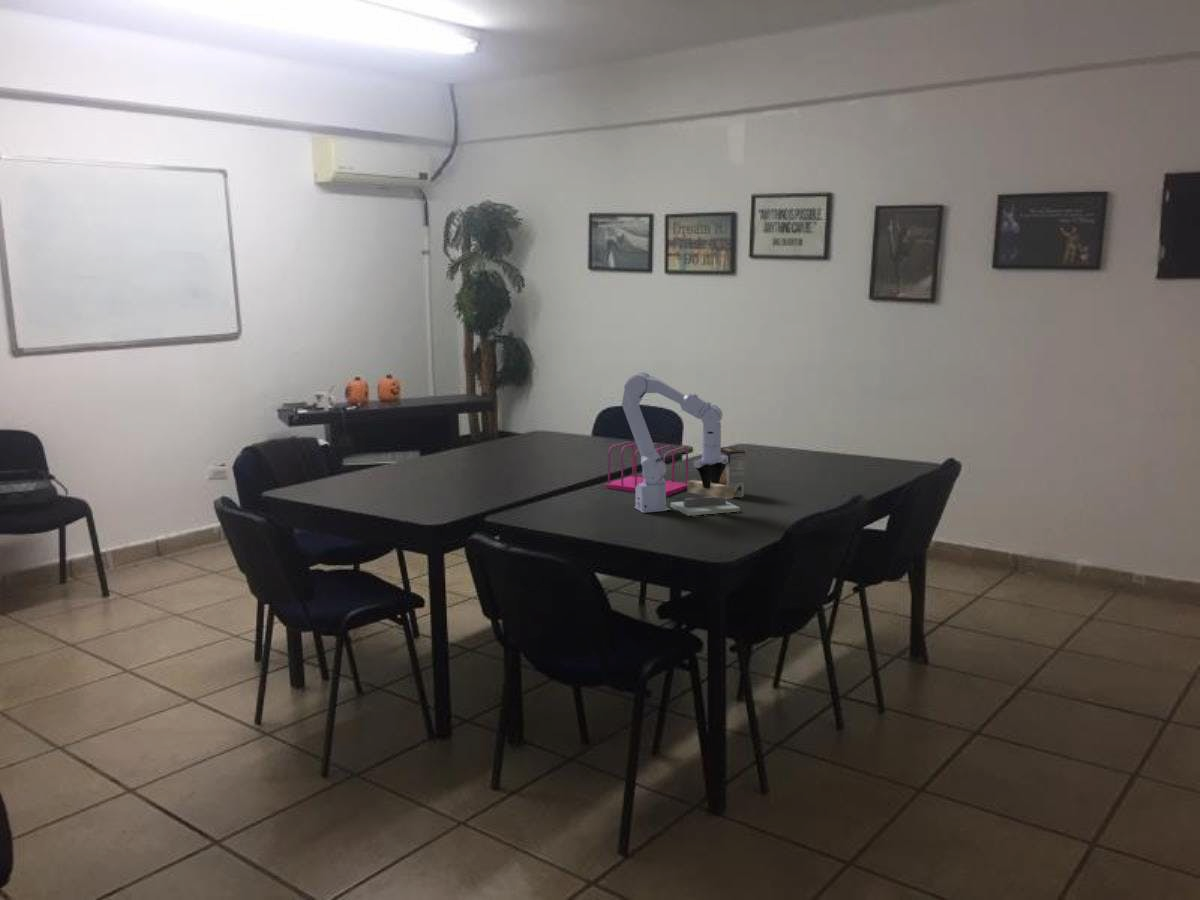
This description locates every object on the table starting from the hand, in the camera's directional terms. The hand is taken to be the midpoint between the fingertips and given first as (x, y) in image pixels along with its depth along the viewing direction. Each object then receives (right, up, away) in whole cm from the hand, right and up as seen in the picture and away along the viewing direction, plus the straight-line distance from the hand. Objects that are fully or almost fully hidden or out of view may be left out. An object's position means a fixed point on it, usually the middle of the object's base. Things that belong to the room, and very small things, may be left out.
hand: (710, 487), depth 304 cm
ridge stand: (-1, -8, +6) cm, 9 cm away
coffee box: (+10, -4, +26) cm, 28 cm away
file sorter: (-18, -2, +38) cm, 42 cm away
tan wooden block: (0, -2, +1) cm, 3 cm away
